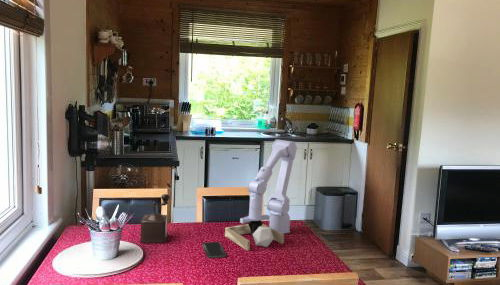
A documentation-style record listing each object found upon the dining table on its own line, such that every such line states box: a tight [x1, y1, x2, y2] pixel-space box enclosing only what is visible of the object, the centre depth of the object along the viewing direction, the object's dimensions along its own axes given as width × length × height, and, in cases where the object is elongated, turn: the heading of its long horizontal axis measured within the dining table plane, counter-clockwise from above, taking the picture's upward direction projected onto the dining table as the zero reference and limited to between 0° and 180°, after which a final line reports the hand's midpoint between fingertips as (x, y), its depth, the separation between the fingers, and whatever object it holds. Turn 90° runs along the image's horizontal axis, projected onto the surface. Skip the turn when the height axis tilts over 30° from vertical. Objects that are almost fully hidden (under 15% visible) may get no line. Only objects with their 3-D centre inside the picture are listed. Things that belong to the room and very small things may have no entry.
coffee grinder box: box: [140, 193, 171, 244], centre depth 179 cm, size 16×11×18 cm
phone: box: [201, 241, 227, 259], centre depth 168 cm, size 8×1×15 cm
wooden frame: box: [224, 223, 285, 251], centre depth 183 cm, size 19×19×4 cm
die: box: [252, 226, 274, 248], centre depth 177 cm, size 8×9×10 cm
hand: (254, 236), depth 183 cm, fingers closed
